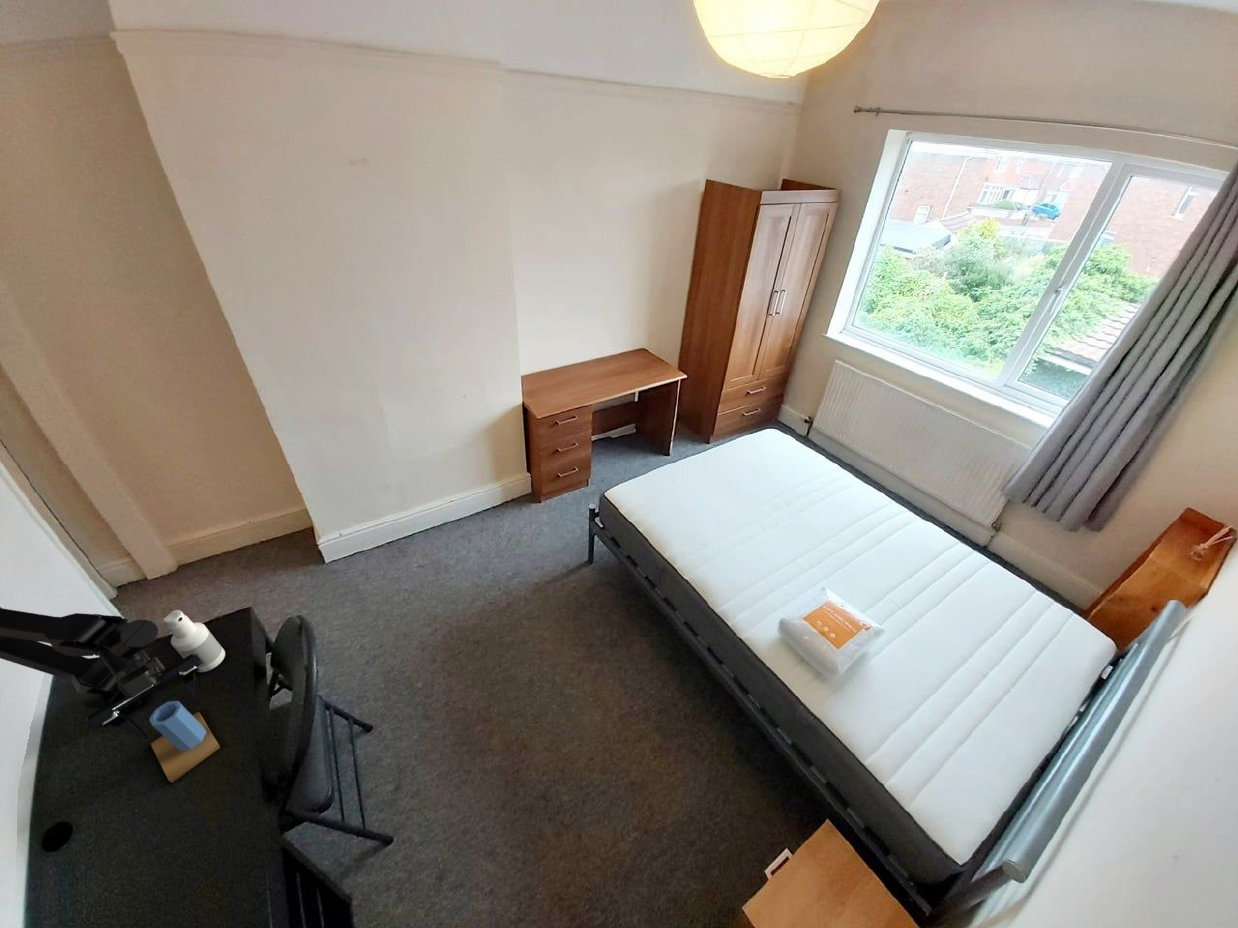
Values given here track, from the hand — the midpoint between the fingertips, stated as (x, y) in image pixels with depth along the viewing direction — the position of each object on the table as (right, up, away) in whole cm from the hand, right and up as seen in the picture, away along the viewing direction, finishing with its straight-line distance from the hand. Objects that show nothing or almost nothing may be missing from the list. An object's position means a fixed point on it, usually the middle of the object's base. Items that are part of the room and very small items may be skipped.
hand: (173, 721), depth 105 cm
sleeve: (0, -6, +4) cm, 7 cm away
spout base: (-1, -8, +4) cm, 9 cm away
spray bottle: (-10, +4, +21) cm, 24 cm away
